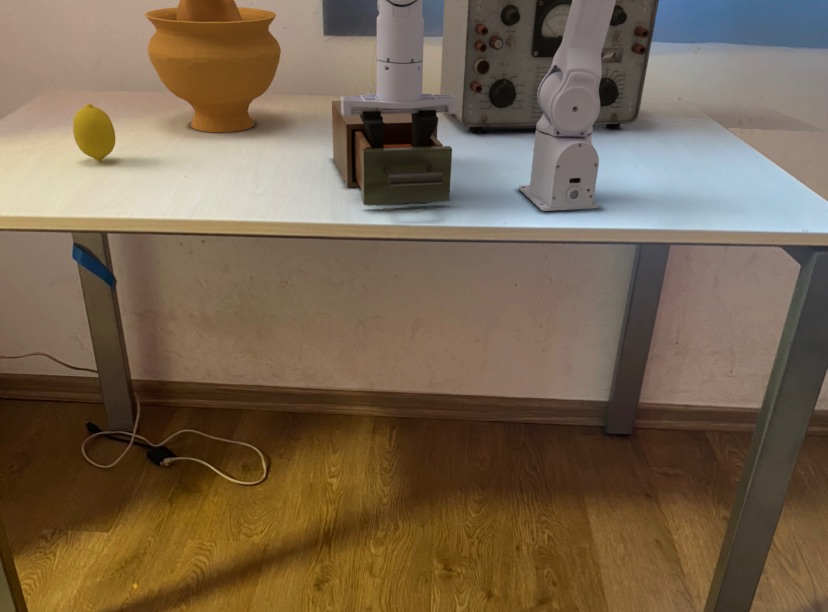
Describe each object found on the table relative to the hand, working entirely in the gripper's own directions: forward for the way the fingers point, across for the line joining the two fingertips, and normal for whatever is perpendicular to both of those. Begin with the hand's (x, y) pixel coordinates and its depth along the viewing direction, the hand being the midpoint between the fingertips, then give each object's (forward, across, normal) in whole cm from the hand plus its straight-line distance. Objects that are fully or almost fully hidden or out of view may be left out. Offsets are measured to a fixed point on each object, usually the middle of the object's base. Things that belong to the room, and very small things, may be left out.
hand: (397, 170), depth 105 cm
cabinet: (+3, 0, -11) cm, 11 cm away
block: (+1, 0, 0) cm, 1 cm away
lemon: (+4, +40, -21) cm, 45 cm away
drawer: (+2, 0, +2) cm, 3 cm away
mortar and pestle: (+3, +22, -41) cm, 47 cm away
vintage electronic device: (+3, -33, -36) cm, 49 cm away
